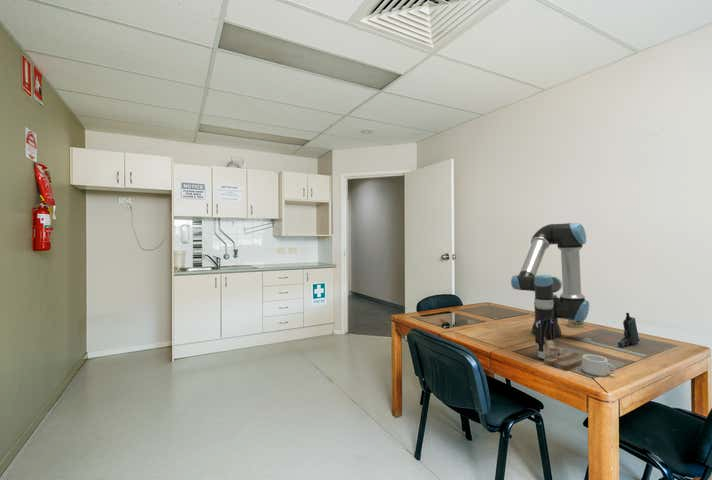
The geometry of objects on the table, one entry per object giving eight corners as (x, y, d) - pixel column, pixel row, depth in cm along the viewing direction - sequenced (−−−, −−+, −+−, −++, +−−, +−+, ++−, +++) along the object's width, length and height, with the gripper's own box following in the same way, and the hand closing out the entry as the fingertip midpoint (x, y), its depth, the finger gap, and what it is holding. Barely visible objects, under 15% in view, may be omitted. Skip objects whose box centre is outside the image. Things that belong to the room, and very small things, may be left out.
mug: (577, 371, 141) (577, 357, 141) (586, 365, 146) (586, 352, 146) (611, 380, 131) (611, 365, 131) (619, 374, 137) (619, 359, 137)
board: (543, 363, 150) (543, 359, 150) (566, 354, 160) (566, 350, 160) (567, 370, 141) (567, 366, 141) (589, 360, 152) (589, 356, 152)
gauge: (537, 357, 157) (536, 340, 157) (543, 354, 159) (542, 338, 159) (559, 363, 148) (558, 345, 148) (565, 360, 151) (564, 343, 151)
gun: (612, 320, 168) (628, 309, 174) (618, 351, 169) (634, 339, 175) (618, 321, 165) (634, 310, 171) (624, 352, 167) (640, 340, 173)
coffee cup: (571, 328, 204) (570, 309, 204) (564, 324, 213) (563, 306, 213) (588, 328, 202) (587, 309, 202) (580, 324, 212) (579, 306, 212)
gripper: (541, 311, 148) (543, 363, 148) (562, 306, 157) (564, 355, 157) (525, 309, 154) (526, 358, 154) (546, 304, 164) (548, 350, 164)
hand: (545, 356), depth 156 cm, fingers closed on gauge, 5 cm apart
